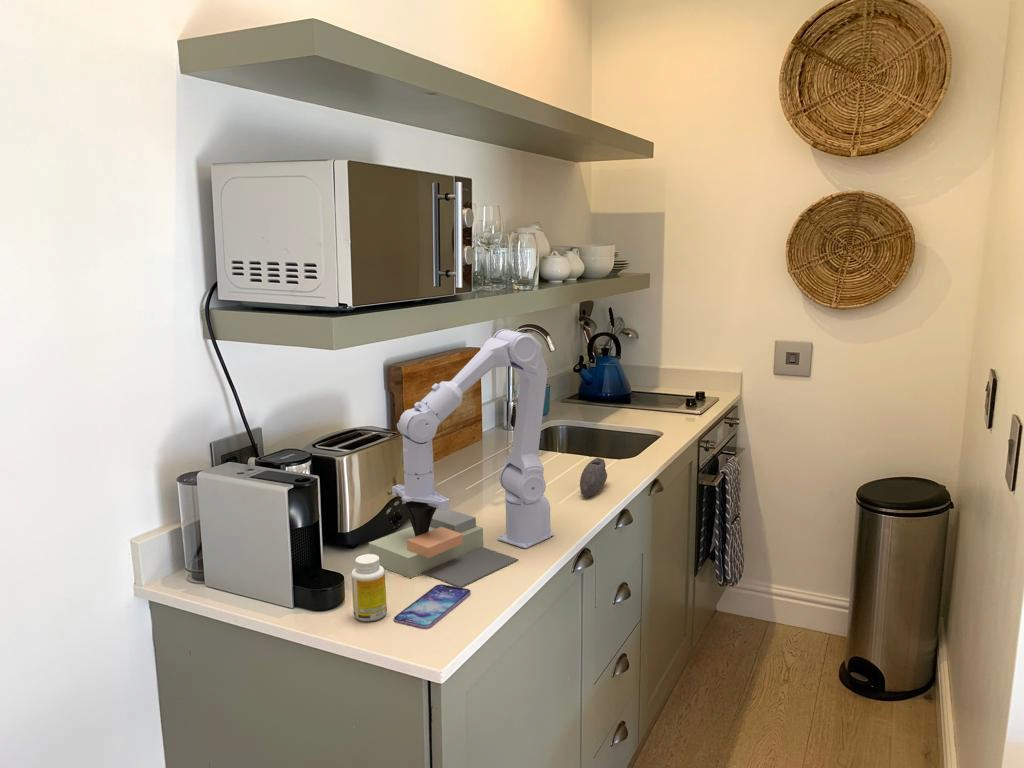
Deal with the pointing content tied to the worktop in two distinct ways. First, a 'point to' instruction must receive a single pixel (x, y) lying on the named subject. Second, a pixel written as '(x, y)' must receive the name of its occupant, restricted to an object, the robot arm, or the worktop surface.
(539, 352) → the robot arm
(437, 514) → the slate gray rectangular block
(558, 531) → the worktop surface
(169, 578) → the worktop surface
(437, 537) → the peach rectangular tile
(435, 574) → the mat
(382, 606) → the supplement bottle
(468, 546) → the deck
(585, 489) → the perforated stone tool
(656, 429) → the worktop surface
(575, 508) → the worktop surface
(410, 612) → the smartphone
